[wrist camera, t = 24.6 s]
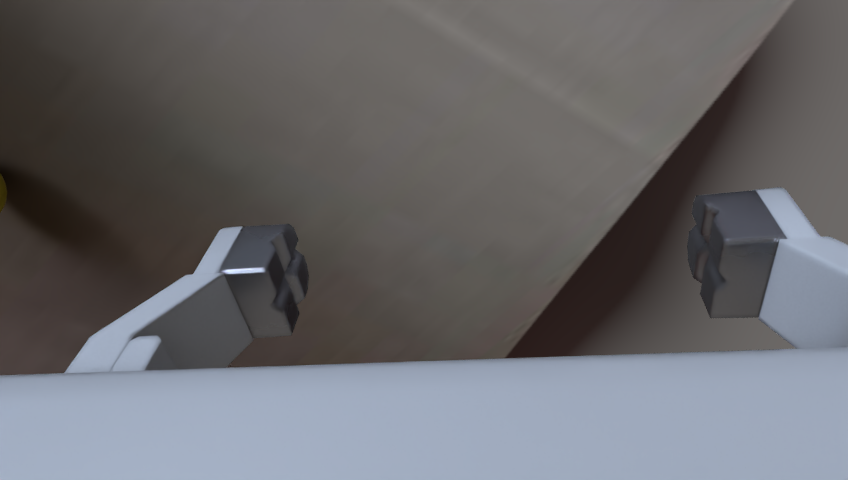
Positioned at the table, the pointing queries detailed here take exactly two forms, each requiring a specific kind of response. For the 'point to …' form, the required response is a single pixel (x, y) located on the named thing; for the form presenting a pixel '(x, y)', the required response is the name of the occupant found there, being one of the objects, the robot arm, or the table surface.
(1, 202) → the lemon
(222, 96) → the table surface
